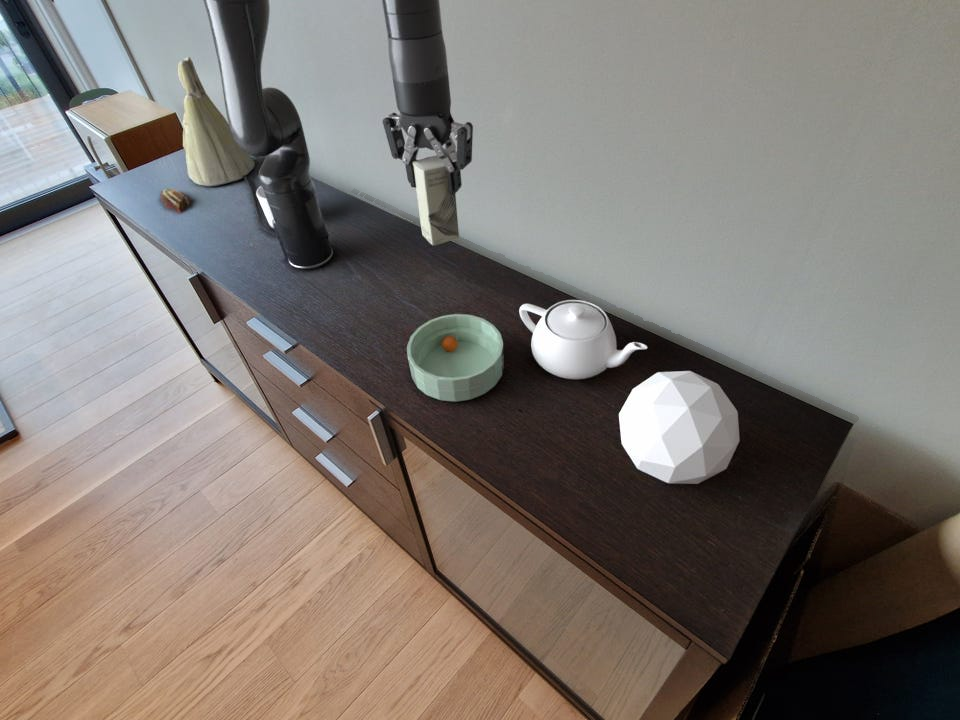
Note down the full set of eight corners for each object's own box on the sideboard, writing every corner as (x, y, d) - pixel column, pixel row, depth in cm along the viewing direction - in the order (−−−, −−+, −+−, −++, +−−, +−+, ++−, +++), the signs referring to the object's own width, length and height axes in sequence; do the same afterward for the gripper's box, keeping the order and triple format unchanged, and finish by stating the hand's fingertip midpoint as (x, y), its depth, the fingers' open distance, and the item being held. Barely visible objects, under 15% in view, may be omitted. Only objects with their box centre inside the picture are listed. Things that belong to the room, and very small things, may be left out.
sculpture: (212, 150, 153) (205, 45, 131) (266, 182, 153) (269, 82, 131) (167, 174, 142) (151, 64, 120) (225, 208, 142) (220, 105, 120)
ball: (440, 352, 90) (438, 341, 88) (447, 342, 91) (446, 331, 89) (453, 356, 89) (452, 345, 87) (460, 347, 90) (459, 335, 88)
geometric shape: (641, 494, 75) (588, 458, 66) (658, 398, 81) (611, 352, 71) (748, 508, 65) (704, 468, 56) (760, 398, 71) (721, 344, 61)
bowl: (394, 385, 86) (388, 361, 82) (441, 328, 95) (438, 304, 91) (476, 416, 80) (474, 392, 76) (518, 353, 89) (518, 328, 86)
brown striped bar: (150, 197, 137) (147, 191, 136) (171, 189, 140) (167, 183, 139) (177, 214, 130) (173, 207, 129) (197, 205, 133) (194, 198, 132)
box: (432, 247, 86) (421, 171, 77) (421, 235, 89) (410, 161, 80) (461, 237, 88) (453, 162, 78) (449, 226, 90) (441, 152, 81)
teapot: (498, 358, 89) (496, 309, 81) (540, 314, 96) (542, 265, 89) (618, 415, 79) (629, 365, 71) (655, 361, 86) (668, 310, 79)
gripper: (480, 66, 70) (487, 185, 82) (390, 59, 75) (408, 171, 87) (453, 85, 65) (464, 208, 77) (359, 75, 71) (383, 192, 82)
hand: (435, 188), depth 82 cm, fingers closed on box, 6 cm apart
